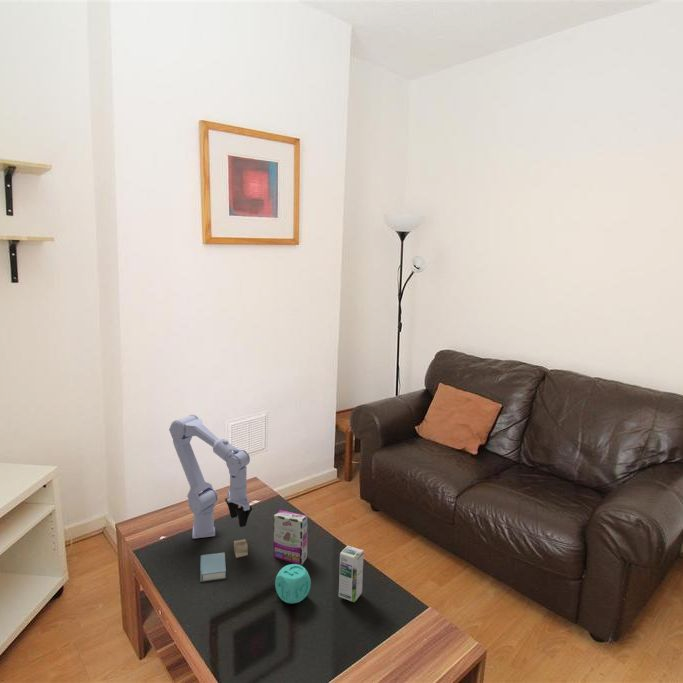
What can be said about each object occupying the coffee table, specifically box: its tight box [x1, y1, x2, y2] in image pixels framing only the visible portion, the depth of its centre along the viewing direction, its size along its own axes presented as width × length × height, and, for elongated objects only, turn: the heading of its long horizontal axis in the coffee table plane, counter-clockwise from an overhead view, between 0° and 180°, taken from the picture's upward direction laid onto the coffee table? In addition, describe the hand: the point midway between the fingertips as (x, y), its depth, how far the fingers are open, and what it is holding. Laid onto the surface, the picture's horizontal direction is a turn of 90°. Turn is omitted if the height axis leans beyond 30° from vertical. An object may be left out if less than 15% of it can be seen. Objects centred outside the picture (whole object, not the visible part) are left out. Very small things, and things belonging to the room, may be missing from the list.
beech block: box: [233, 538, 249, 559], centre depth 170 cm, size 4×4×5 cm
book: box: [199, 552, 227, 583], centre depth 161 cm, size 11×8×3 cm
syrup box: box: [338, 545, 364, 603], centre depth 150 cm, size 6×6×14 cm
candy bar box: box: [273, 509, 309, 566], centre depth 168 cm, size 11×5×16 cm, turn 68°
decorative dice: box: [274, 563, 312, 604], centre depth 149 cm, size 8×8×8 cm
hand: (238, 521), depth 173 cm, fingers open, 7 cm apart
